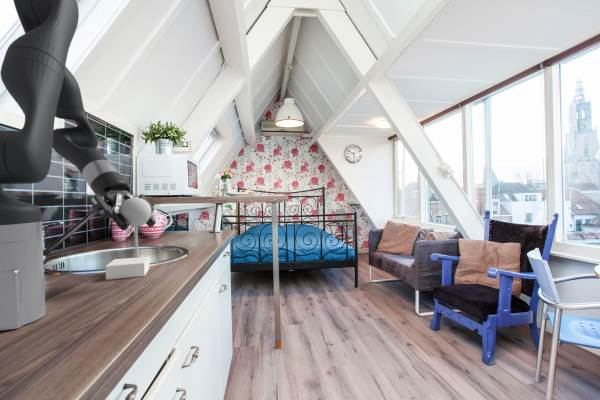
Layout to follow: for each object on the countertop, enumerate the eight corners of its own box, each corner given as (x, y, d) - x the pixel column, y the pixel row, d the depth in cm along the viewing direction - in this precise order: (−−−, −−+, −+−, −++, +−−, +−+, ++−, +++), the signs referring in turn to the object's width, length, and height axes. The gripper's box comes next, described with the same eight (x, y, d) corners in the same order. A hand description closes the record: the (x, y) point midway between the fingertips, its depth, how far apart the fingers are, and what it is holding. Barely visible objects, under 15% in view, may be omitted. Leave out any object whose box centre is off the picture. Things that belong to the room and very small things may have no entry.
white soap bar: (144, 275, 81) (144, 263, 81) (106, 279, 79) (105, 266, 78) (149, 268, 90) (149, 256, 90) (114, 271, 87) (114, 259, 87)
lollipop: (124, 256, 78) (122, 197, 77) (154, 254, 80) (153, 197, 80) (116, 261, 71) (114, 197, 71) (150, 259, 73) (148, 197, 73)
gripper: (84, 168, 71) (121, 217, 67) (136, 172, 84) (170, 214, 80) (69, 191, 73) (105, 241, 69) (123, 191, 86) (155, 233, 82)
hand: (140, 226), depth 75 cm, fingers closed on lollipop, 7 cm apart
